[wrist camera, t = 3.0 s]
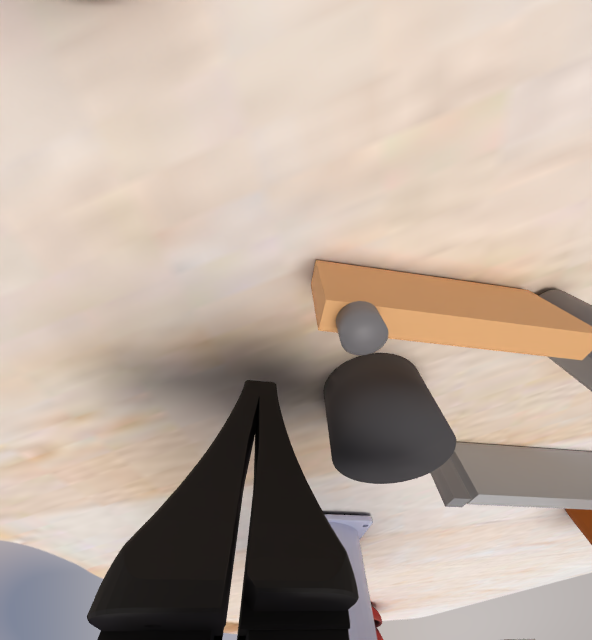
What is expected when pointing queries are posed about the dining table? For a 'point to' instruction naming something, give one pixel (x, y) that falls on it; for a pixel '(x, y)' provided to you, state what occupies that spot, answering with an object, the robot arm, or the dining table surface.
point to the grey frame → (520, 469)
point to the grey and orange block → (582, 521)
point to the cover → (446, 313)
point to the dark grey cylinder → (384, 421)
